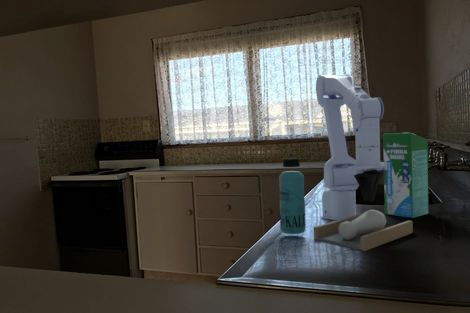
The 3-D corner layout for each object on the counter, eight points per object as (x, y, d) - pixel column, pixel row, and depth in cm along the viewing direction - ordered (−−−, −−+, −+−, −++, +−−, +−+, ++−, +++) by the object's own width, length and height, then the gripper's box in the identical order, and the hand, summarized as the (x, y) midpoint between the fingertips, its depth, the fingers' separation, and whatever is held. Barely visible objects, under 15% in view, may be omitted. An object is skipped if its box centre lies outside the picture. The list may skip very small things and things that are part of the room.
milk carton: (428, 213, 115) (427, 131, 114) (412, 218, 110) (410, 132, 109) (401, 209, 123) (399, 132, 121) (384, 213, 118) (382, 133, 116)
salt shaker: (391, 231, 92) (355, 245, 86) (372, 230, 97) (337, 243, 90) (386, 207, 92) (350, 219, 86) (367, 207, 97) (332, 219, 91)
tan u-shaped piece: (314, 239, 93) (313, 226, 93) (363, 224, 106) (363, 213, 106) (364, 251, 82) (364, 237, 82) (412, 232, 95) (412, 220, 94)
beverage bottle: (287, 232, 100) (285, 157, 99) (310, 235, 96) (308, 157, 95) (275, 238, 95) (272, 158, 94) (299, 241, 91) (297, 158, 90)
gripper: (365, 148, 86) (366, 207, 87) (398, 145, 95) (399, 198, 96) (339, 148, 92) (340, 203, 93) (372, 145, 101) (373, 195, 102)
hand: (368, 200), depth 95 cm, fingers closed
